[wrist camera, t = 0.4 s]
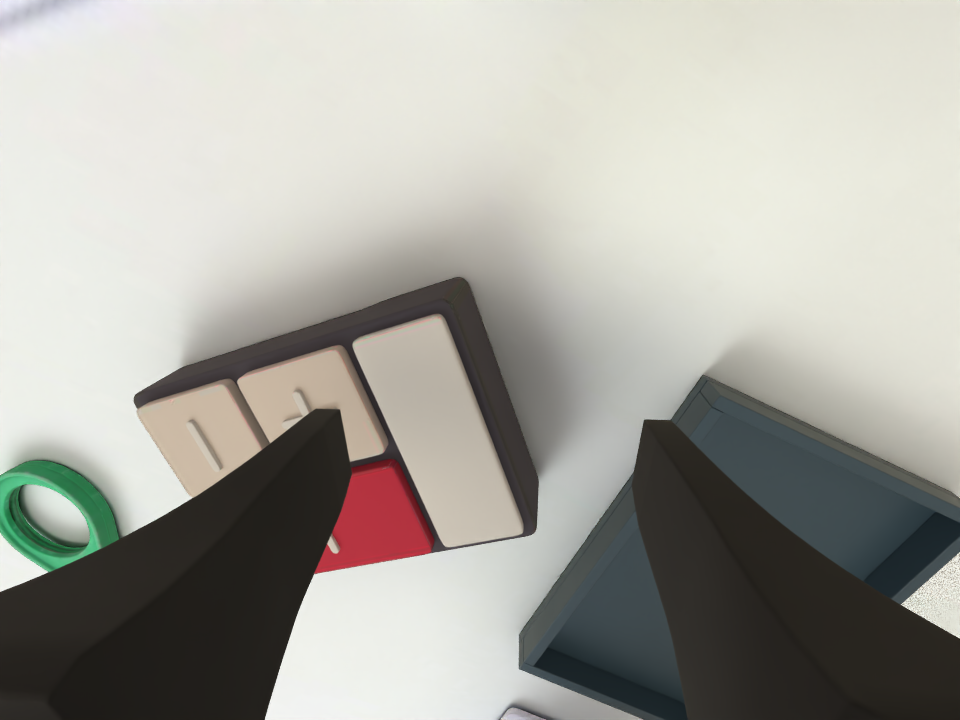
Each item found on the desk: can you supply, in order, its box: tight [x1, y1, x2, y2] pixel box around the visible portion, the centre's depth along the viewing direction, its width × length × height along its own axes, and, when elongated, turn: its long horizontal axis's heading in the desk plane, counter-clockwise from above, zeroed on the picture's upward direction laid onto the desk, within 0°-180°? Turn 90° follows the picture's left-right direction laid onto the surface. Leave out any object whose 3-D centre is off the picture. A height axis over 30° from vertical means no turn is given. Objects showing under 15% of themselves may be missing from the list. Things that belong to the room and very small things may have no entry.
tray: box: [519, 375, 960, 720], centre depth 24 cm, size 18×13×2 cm
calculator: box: [134, 277, 539, 574], centre depth 22 cm, size 11×4×15 cm
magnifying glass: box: [0, 460, 119, 572], centre depth 28 cm, size 15×6×2 cm, turn 22°
